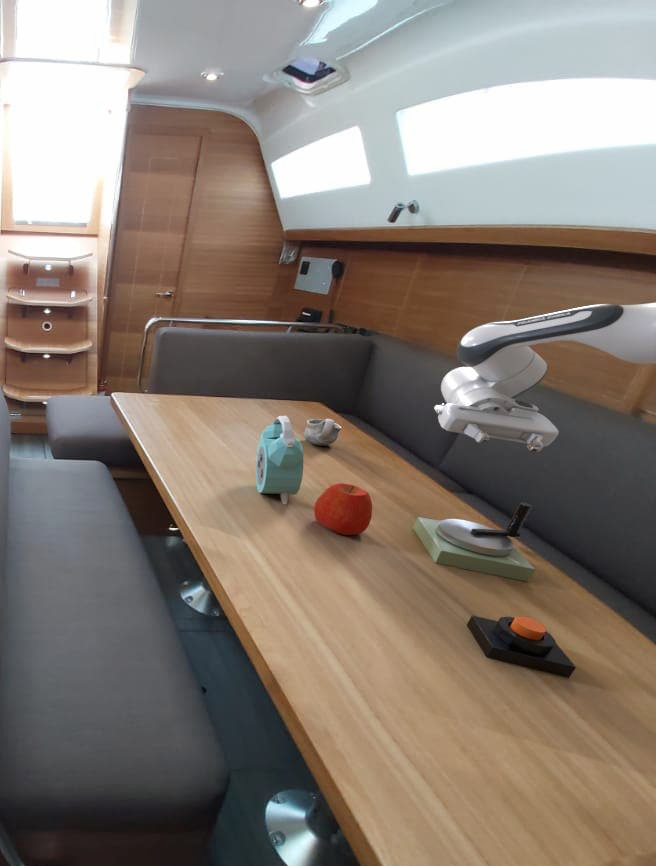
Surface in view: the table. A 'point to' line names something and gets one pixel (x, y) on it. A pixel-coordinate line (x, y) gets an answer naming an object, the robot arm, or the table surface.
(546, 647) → the button box
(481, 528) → the wheel
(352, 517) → the apple
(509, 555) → the dial plate
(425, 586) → the table surface
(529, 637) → the button
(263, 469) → the alarm clock
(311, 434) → the grey spouted pot
